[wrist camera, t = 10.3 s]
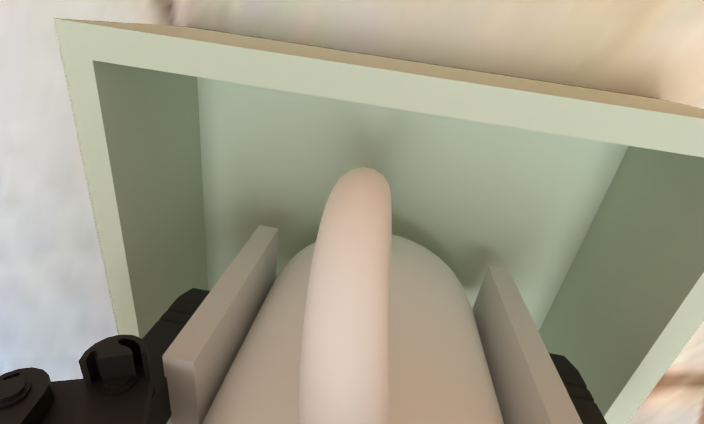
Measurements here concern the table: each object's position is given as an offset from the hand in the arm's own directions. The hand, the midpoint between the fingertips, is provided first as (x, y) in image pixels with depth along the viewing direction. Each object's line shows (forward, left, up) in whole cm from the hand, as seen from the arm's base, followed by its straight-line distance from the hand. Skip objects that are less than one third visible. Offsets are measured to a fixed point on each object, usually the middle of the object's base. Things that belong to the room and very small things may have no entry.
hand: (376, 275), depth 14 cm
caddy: (0, -7, -3) cm, 8 cm away
